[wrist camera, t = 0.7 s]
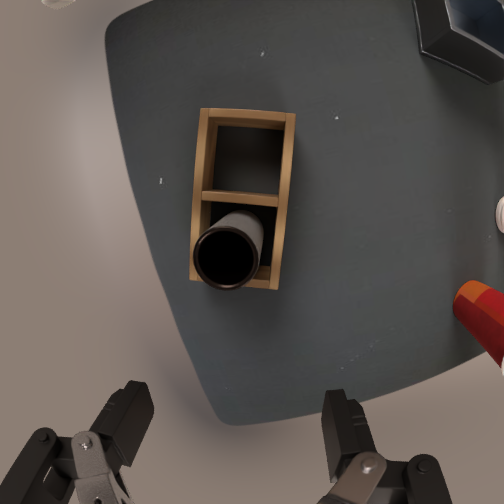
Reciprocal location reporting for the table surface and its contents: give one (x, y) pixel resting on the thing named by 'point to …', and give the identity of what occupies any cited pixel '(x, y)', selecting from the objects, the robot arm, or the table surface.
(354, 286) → the table surface
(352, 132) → the table surface
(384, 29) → the table surface
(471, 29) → the dark grey open box
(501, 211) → the chess pawn
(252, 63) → the table surface
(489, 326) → the paper cup
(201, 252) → the grey hollow cylinder
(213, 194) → the wooden divided box
